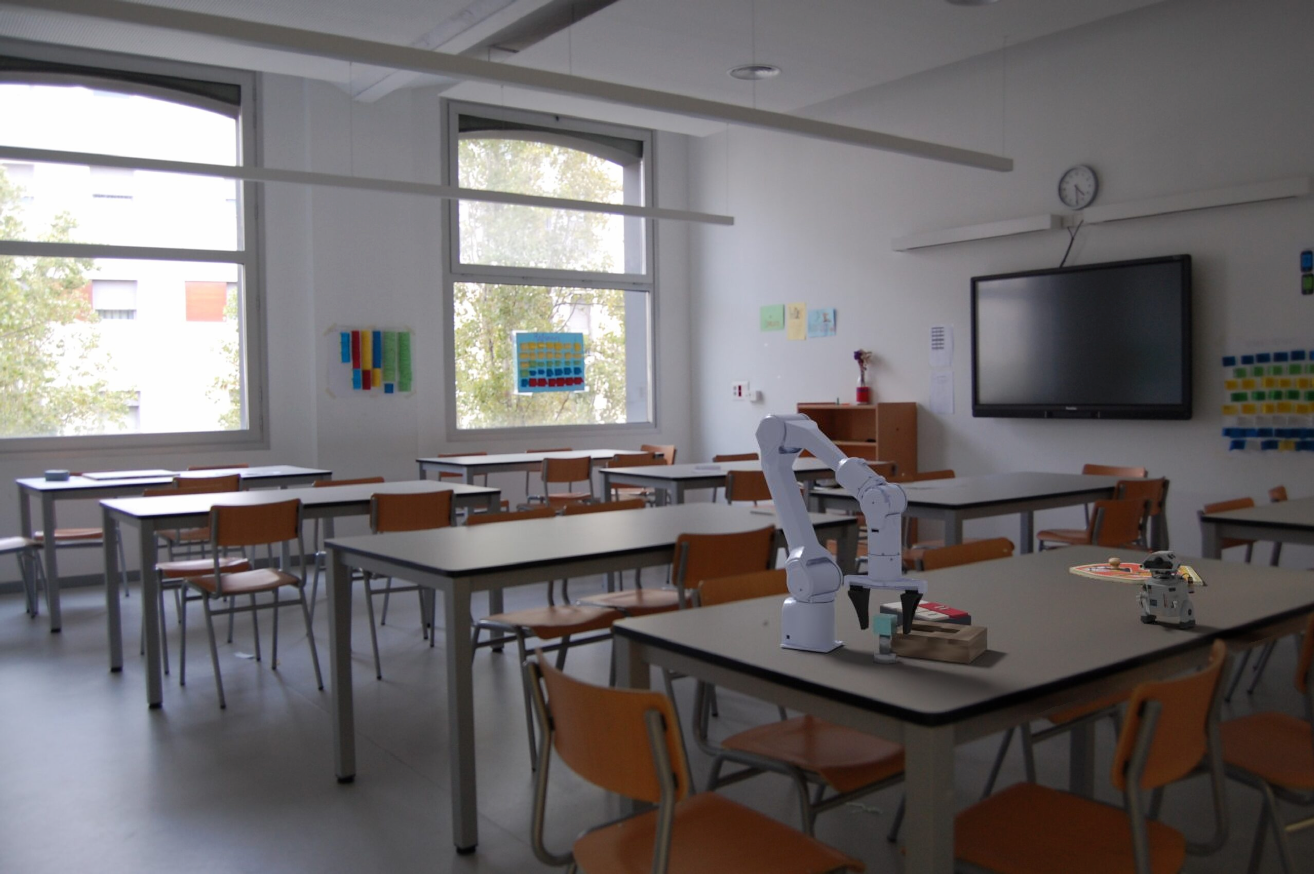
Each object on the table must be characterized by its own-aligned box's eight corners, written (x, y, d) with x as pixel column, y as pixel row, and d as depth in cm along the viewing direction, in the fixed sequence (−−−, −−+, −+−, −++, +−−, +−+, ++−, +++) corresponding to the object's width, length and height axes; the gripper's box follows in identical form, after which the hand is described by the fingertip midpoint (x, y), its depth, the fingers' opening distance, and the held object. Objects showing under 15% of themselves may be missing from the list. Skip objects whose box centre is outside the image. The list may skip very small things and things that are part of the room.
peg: (870, 662, 177) (870, 616, 177) (878, 657, 181) (878, 612, 181) (892, 665, 175) (892, 618, 175) (900, 660, 179) (900, 614, 178)
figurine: (1125, 626, 201) (1125, 551, 201) (1154, 618, 208) (1154, 545, 208) (1172, 634, 194) (1172, 556, 194) (1200, 625, 201) (1200, 550, 201)
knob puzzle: (1204, 589, 242) (1204, 570, 242) (1070, 583, 253) (1070, 565, 253) (1189, 570, 269) (1188, 553, 269) (1068, 565, 280) (1068, 549, 280)
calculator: (932, 618, 197) (878, 601, 210) (931, 640, 197) (878, 622, 210) (972, 611, 203) (918, 596, 216) (971, 633, 203) (917, 616, 216)
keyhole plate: (890, 654, 183) (889, 632, 183) (912, 640, 193) (911, 619, 193) (968, 663, 175) (968, 640, 175) (987, 649, 185) (987, 627, 185)
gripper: (836, 553, 178) (837, 631, 178) (917, 559, 170) (918, 639, 171) (851, 548, 184) (852, 623, 184) (931, 553, 176) (931, 631, 177)
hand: (885, 630), depth 178 cm, fingers open, 7 cm apart
